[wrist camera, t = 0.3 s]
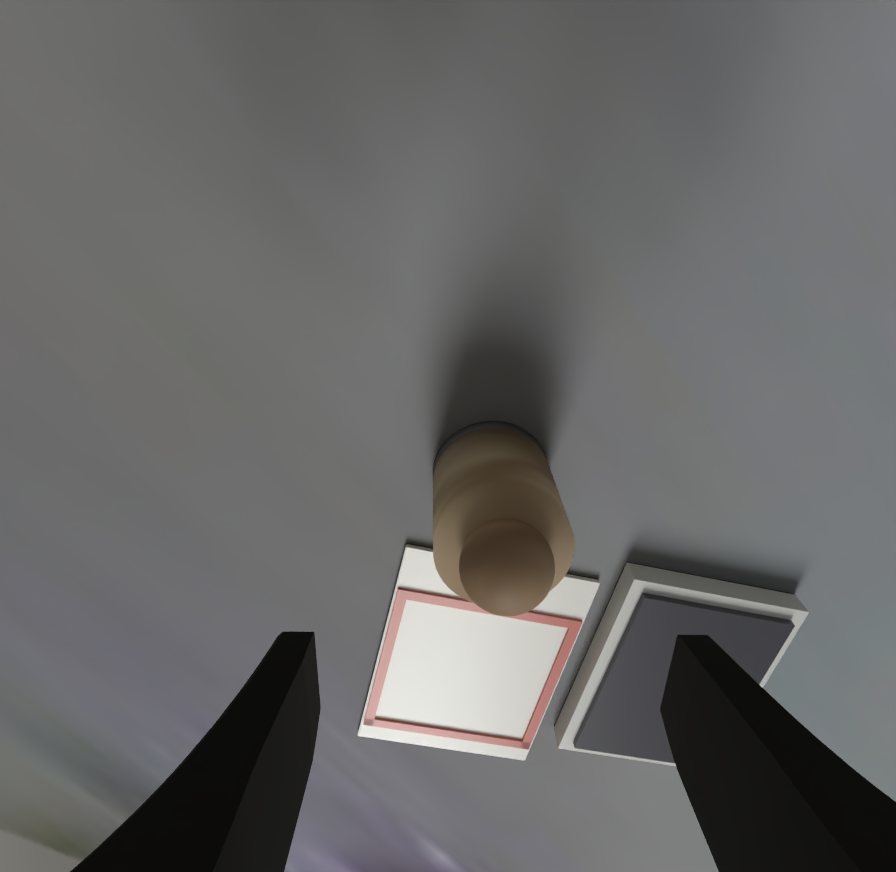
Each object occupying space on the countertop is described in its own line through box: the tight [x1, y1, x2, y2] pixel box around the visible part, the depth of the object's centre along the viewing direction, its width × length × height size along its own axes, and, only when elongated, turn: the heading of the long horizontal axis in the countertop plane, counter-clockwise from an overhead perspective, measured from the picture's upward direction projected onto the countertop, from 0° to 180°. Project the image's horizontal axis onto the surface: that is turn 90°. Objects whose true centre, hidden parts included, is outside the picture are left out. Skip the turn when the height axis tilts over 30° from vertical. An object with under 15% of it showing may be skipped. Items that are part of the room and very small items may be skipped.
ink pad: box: [554, 563, 809, 766], centre depth 25 cm, size 7×9×1 cm
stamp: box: [433, 421, 575, 616], centre depth 19 cm, size 4×4×7 cm
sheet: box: [358, 544, 600, 761], centre depth 25 cm, size 8×10×1 cm
